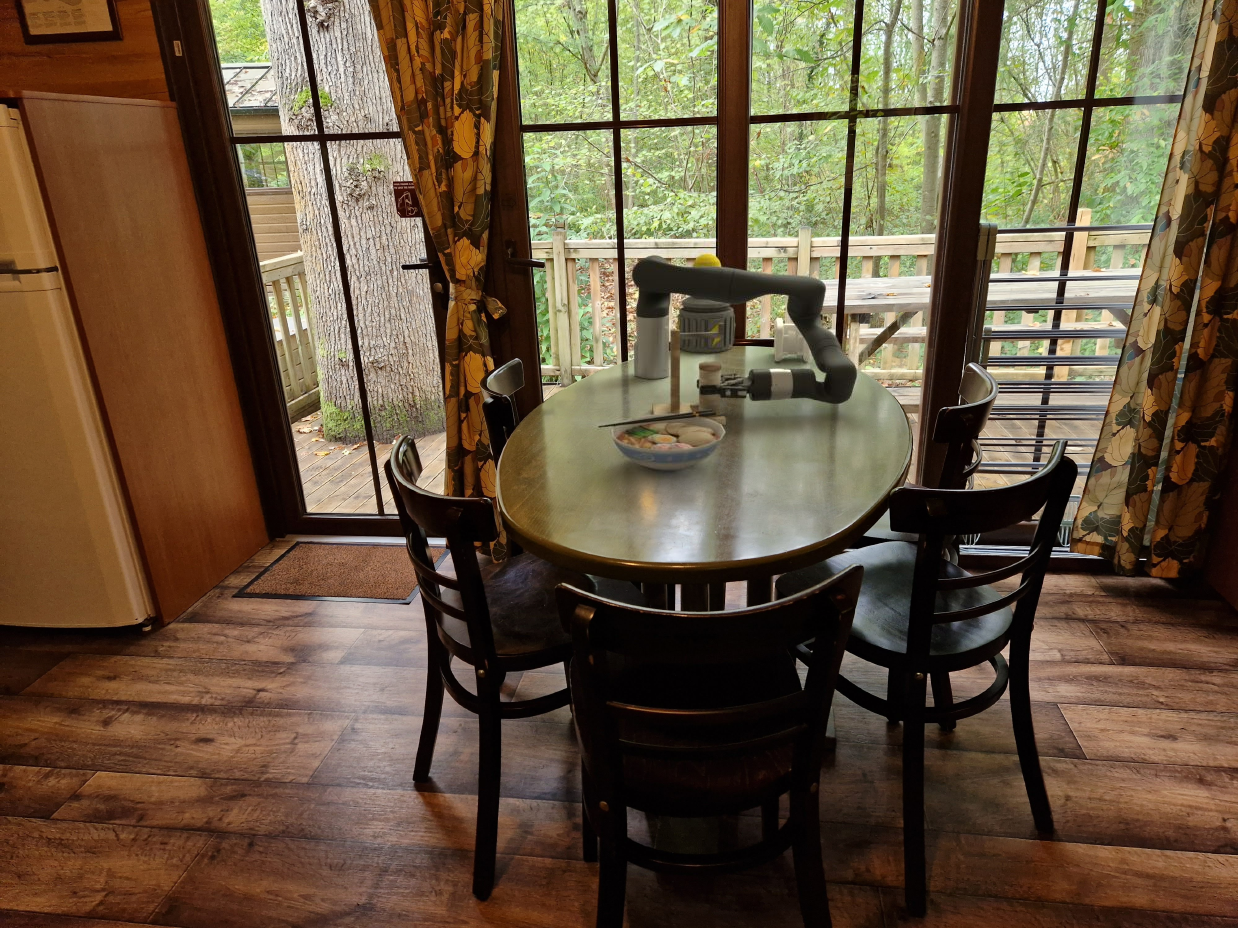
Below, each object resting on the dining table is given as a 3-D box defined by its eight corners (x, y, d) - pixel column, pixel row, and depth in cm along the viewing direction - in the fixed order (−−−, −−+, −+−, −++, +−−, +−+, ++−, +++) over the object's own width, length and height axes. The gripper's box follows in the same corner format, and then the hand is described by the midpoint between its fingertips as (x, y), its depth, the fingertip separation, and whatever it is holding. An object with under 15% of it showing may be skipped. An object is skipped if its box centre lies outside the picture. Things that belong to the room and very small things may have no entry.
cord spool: (694, 415, 186) (695, 365, 182) (703, 409, 191) (703, 360, 186) (715, 417, 184) (716, 367, 180) (723, 411, 188) (724, 362, 184)
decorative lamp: (721, 339, 269) (723, 249, 259) (743, 351, 252) (746, 255, 242) (669, 343, 265) (669, 252, 254) (688, 355, 248) (688, 258, 237)
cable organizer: (809, 364, 233) (812, 325, 229) (773, 364, 235) (775, 325, 231) (806, 353, 247) (809, 316, 243) (772, 352, 249) (774, 316, 245)
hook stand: (716, 407, 194) (718, 318, 186) (725, 425, 181) (728, 329, 173) (652, 410, 194) (651, 320, 186) (656, 427, 181) (655, 331, 173)
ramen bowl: (623, 494, 145) (622, 452, 142) (593, 454, 165) (592, 416, 162) (748, 477, 151) (750, 437, 148) (705, 440, 171) (705, 404, 168)
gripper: (764, 361, 191) (694, 364, 190) (777, 376, 177) (702, 379, 177) (763, 391, 193) (694, 394, 193) (776, 408, 180) (702, 411, 179)
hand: (698, 387), depth 185 cm, fingers closed on cord spool, 5 cm apart
